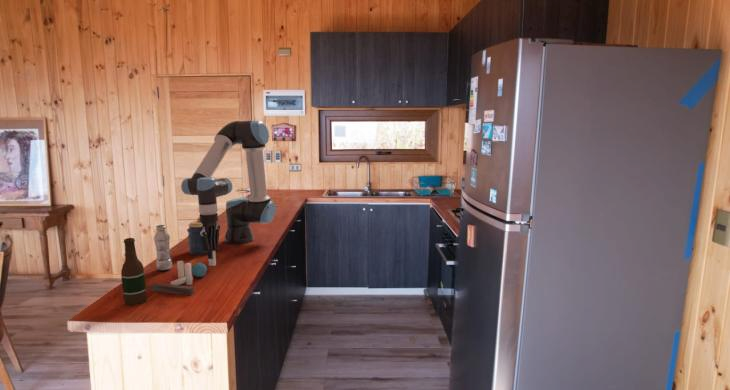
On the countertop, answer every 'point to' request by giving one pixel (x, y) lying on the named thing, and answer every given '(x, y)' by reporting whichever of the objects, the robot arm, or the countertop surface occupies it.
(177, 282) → the front pin
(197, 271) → the ball
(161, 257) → the plastic bottle
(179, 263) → the back pin
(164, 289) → the dark grey rod
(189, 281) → the pin
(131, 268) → the beer bottle
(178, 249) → the countertop surface
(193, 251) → the canister
